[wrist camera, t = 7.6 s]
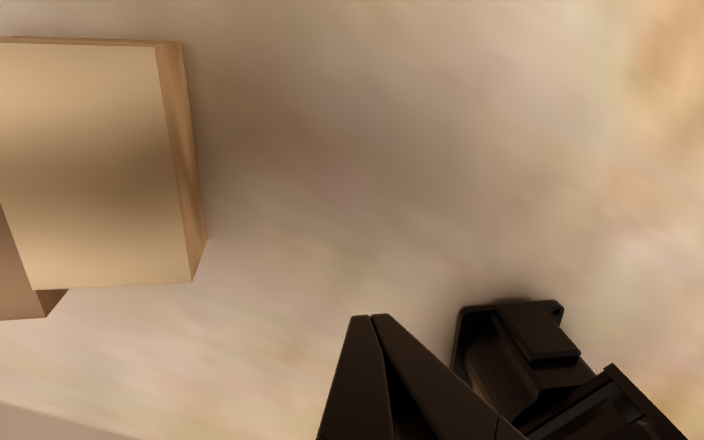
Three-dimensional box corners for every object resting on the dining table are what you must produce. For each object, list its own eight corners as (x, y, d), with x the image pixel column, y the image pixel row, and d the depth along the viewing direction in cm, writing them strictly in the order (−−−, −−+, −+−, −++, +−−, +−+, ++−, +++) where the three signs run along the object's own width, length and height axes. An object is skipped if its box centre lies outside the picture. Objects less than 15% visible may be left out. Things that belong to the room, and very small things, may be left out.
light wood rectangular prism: (208, 236, 21) (191, 282, 17) (78, 241, 20) (32, 290, 16) (182, 41, 17) (154, 47, 13) (18, 35, 16) (-59, 40, 12)
